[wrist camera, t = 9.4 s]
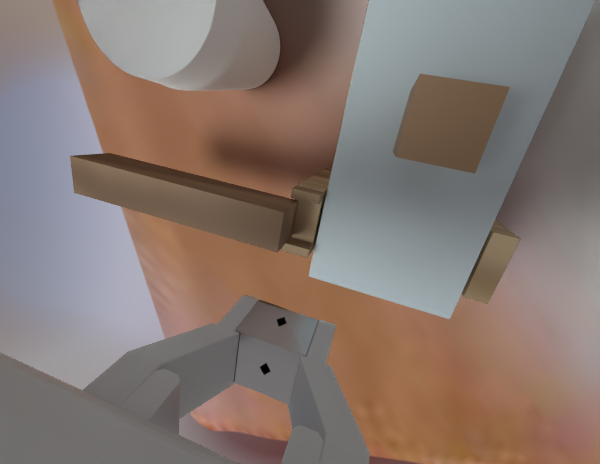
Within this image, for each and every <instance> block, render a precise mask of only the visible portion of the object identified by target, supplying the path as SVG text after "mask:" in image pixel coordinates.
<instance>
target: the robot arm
mask: <svg viewBox="0 0 600 464" xmlns="http://www.w3.org/2000/svg"><path fill="white" fill-rule="evenodd" d="M335 327H336V326H335V324H332V323H328V322H325V321H322V320H317V319H314V318H311V317H308V316H305V315H302V314H299V313H296V312H293V311H290V310H287V309H285V308H282V307H279V306H276V305H274V304H271V303H268V302H265V301H262V300H259V299H256V298H254V297H251V296H248V295H244V296H242V297H241V298H240V299H239V301H238V302H237V303H236V304H235V305H234V306H233V307H232V309H231V310H230V311H229V312H228V313H227V314H226V315H225V317H224V318H223V319H222V320H221V321H220V322H219V323H218V325H217V324H214V323H212V324H209V325H206V326H203V327H200V328H197V329H194V330H191V331H188V332H185V333H182V334H179V335H176V336H173V337H170V338H167V339H164V340H161V341H159V342H155V343H152V344H149V345H146V346H143V347H141V348H137V349H135V350H132V351H129V352H127V353H126V354H125V355H123V357H121V358H120V359H119V360H118V361H116V362H115V363H114V364H113V365H112V366H111V367H109V368H108V369H107V370H106V371H105V372H103V373H102V374H101V375H100V376H99V377H98V378H96V379H95V380H94V381H93V382H92V383H91V384H89V385H88V386H87V387H86V388H85V389H83V390H81V389H78V388H76V387H74V386H72V385H70V384H68V383H65V382H63V381H61V380H59V379H56V378H55V377H52V376H50V375H48V374H46V373H44V372H42V371H39V370H37V369H35V368H33V367H31V366H29V365H26V364H24V363H22V362H20V361H18V360H16V359H13V358H11V357H9V356H7V355H5V354H3V353H0V464H241V463H238V462H236V461H234V460H232V459H230V458H228V457H225V456H223V455H221V454H219V453H217V452H215V451H212V450H210V449H208V448H206V447H204V446H202V445H199V444H197V443H195V442H193V441H191V440H189V439H186V438H184V437H182V436H180V435H179V419H180V418H181V417H183V416H185V415H186V414H188V413H189V412H191V411H192V410H194V409H195V408H197V407H199V406H200V405H202V404H203V403H205V402H206V401H208V400H209V399H211V398H213V397H214V396H216V395H217V394H219V393H220V392H222V391H223V390H225V389H227V388H228V387H230V386H231V385H233V383H236V384H239V385H242V386H244V387H247V388H250V389H252V390H255V391H258V392H261V393H263V394H265V395H268V396H270V397H272V398H274V399H277V400H279V401H281V402H284V403H286V404H288V408H289V413H290V419H291V424H292V432H291V435H290V438H289V442H288V445H287V448H286V451H285V454H284V457H283V460H282V463H281V464H369V450H368V448H367V446H366V444H365V441H364V439H363V437H362V435H361V432H360V430H359V428H358V426H357V423H356V421H355V419H354V417H353V415H352V412H351V410H350V408H349V406H348V403H347V401H346V399H345V397H344V394H343V392H342V390H341V388H340V385H339V383H338V381H337V379H336V377H335V374H334V372H333V370H332V368H331V366H329V365H326V362H327V358H328V354H329V350H330V346H331V343H332V339H333V335H334V331H335Z"/></svg>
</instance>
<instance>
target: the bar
mask: <svg viewBox="0 0 600 464" xmlns="http://www.w3.org/2000/svg"><path fill="white" fill-rule="evenodd" d="M70 159H71V168H72V176H73V185H74V193H77V194H81V195H84V196H88V197H91V198H94V199H98V200H101V201H104V202H108V203H111V204H115V205H118V206H121V207H125V208H128V209H132V210H135V211H138V212H142V213H145V214H149V215H152V216H155V217H159V218H162V219H166V220H169V221H172V222H176V223H179V224H183V225H186V226H189V227H193V228H196V229H200V230H203V231H206V232H210V233H213V234H217V235H220V236H223V237H227V238H230V239H234V240H237V241H240V242H244V243H247V244H250V245H254V246H257V247H261V248H264V249H267V250H271V251H274V252H278V251H279V250H280V249H281V248H282V247H283V246H284V244H285V243H286V242H287V241H288V240H289V239H290V238H291V237H292V235H293V230H294V224H295V219H296V213H297V208H298V203H299V201H297V200H293V199H289V198H285V197H281V196H277V195H273V194H269V193H265V192H262V191H258V190H254V189H250V188H246V187H242V186H238V185H234V184H230V183H226V182H222V181H218V180H214V179H210V178H206V177H202V176H198V175H194V174H190V173H186V172H182V171H179V170H175V169H171V168H167V167H163V166H159V165H155V164H151V163H147V162H143V161H139V160H135V159H131V158H127V157H123V156H119V155H115V154H111V153H106V154H92V155H77V156H70Z"/></svg>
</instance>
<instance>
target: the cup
mask: <svg viewBox="0 0 600 464" xmlns="http://www.w3.org/2000/svg"><path fill="white" fill-rule="evenodd" d="M78 3H79V7H80V10H81V13H82V16H83V19H84V21H85V23H86V26H87V28H88V30H89V32H90V34H91V36H92V38H93V39H94V41H95V42H96V44H97V45H98V47H99V48H100V49H101V51H102V52H103V53H104V54H105V55H106V57H107V58H108V59H109V60H110V61H111V62H112V63H114V64H115V65H116V66H117V67H119V68H120V69H122V70H123V71H125V72H127V73H129V74H131V75H133V76H136V77H139V78H143V79H146V80H150V81H153V82H156V83H159V84H162V85H165V86H167V87H170V88H173V89H178V90H187V91H199V90H248V89H254V88H256V87H259V86H260V85H262V84H263V83H265V82H266V81H267V80H268V79H269V78H270V77H271V75H272V74H273V72H274V70H275V68H276V66H277V63H278V60H279V55H280V37H279V32H278V29H277V26H276V24H275V22H274V20H273V18H272V16H271V15H270V13H269V11H268V9H267V7H266V5H265V3H264V2H263V0H78Z"/></svg>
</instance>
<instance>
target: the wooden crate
mask: <svg viewBox="0 0 600 464" xmlns="http://www.w3.org/2000/svg"><path fill="white" fill-rule="evenodd" d="M368 3H369V1H368ZM367 7H368V5H367ZM366 12H367V10H366ZM365 17H366V14H365ZM364 21H365V19H364ZM363 26H364V23H363ZM362 30H363V28H362ZM361 35H362V33H361ZM360 39H361V37H360ZM359 44H360V42H359ZM358 49H359V46H358ZM357 53H358V51H357ZM356 58H357V55H356ZM355 62H356V60H355ZM354 67H355V65H354ZM353 71H354V69H353ZM352 76H353V74H352ZM351 80H352V78H351ZM350 85H351V83H350ZM349 90H350V87H349ZM348 94H349V92H348ZM347 99H348V97H347ZM346 103H347V101H346ZM345 108H346V106H345ZM344 112H345V110H344ZM343 117H344V115H343ZM342 122H343V119H342ZM341 126H342V124H341ZM340 131H341V129H340ZM339 135H340V133H339ZM338 140H339V138H338ZM337 144H338V142H337ZM336 149H337V147H336ZM335 153H336V151H335ZM334 158H335V156H334ZM333 163H334V161H333ZM332 167H333V165H332ZM331 172H332V170H331V171H330V170H326V169H324V170H322V171H321V172H319V173H317V174H316V175H314V176H312V177H310V178H309V179H307V180H305V181H303V182H302V183H300V184H298V185H297V186H296V187H294V188H293V189H292V194H291V198H294V199H295V200H297V201H299V203H298V208H297V213H296V219H295V224H294V230H293V235H292V237H291V238H290V239H289V240H288V241H287V242H286V243H285V244H284V246H283V247H282V251H285V252H288V253H292V254H295V255H299V256H302V257H306V258H308V256H309V255H310V253H311V252H312V250H313V249H315V245H316V240H317V236H318V231H319V227H320V222H321V217H322V213H323V208H324V204H325V199H326V195H327V190H328V185H329V181H330V176H331ZM519 241H520V238H519V237H517V236H516V235H515V234H513V233H512V232H511V231H509V230H508V229H507V228H506V227H504V226H503V225H502V224H500V223H499V222H498V221H496V220H495V221H494V223H493V226H492V228H491V230H490V232H489V234H488V236H487V239H486V241H485V243H484V245H483V247H482V250H481V252H480V254H479V256H478V258H477V260H476V263H475V265H474V267H473V269H472V271H471V274H470V276H469V278H468V280H467V282H466V284H465V287H464V289H463V291H462V295H463V297H466V298H469V299H472V300H476V301H479V302H483V303H486V304H488V302H489V300H490V298H491V296H492V294H493V292H494V290H495V288H496V286H497V284H498V282H499V281H500V279H501V277H502V275H503V273H504V271H505V269H506V267H507V265H508V263H509V261H510V259H511V257H512V255H513V253H514V251H515V249H516V247H517V245H518V243H519ZM313 254H314V252H313ZM312 258H313V257H312ZM311 263H312V261H311ZM310 268H311V266H310Z"/></svg>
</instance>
